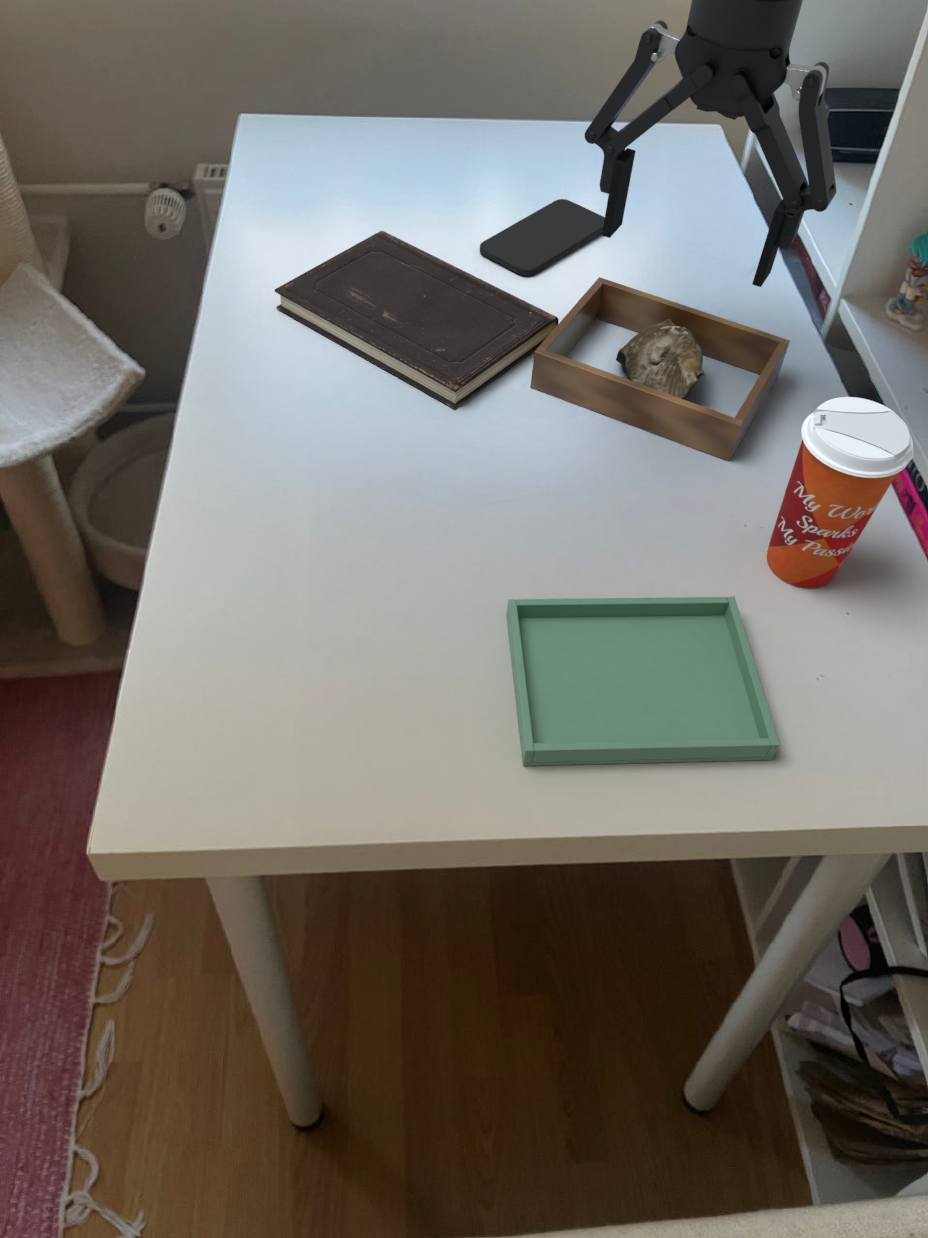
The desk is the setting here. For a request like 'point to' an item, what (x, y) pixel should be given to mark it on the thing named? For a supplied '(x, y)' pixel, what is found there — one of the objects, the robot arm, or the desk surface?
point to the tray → (636, 682)
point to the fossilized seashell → (663, 359)
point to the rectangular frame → (644, 402)
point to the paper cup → (835, 487)
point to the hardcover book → (417, 317)
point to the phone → (543, 237)
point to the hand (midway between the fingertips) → (684, 253)
